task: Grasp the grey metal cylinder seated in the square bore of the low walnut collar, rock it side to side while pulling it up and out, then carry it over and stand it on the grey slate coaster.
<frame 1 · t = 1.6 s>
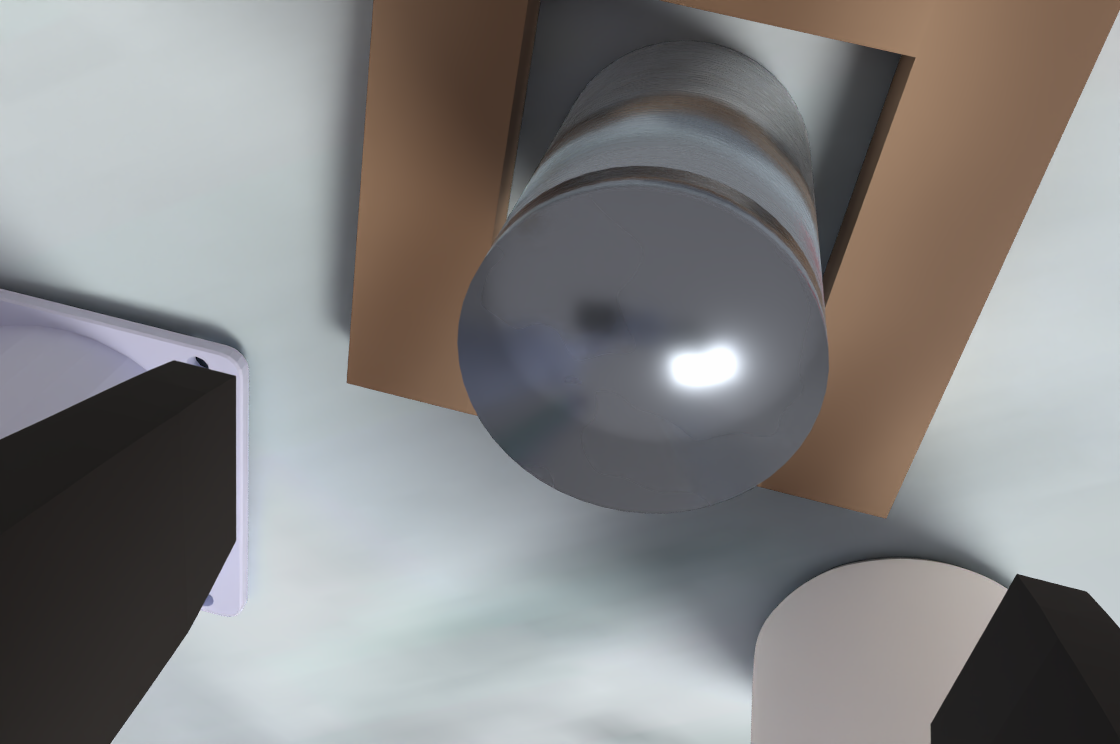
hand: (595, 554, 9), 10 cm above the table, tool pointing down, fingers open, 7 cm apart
collar: (681, 170, 18), on the table
grey metal cylinder: (682, 169, 18), resting in collar
can: (896, 648, 23), on the table
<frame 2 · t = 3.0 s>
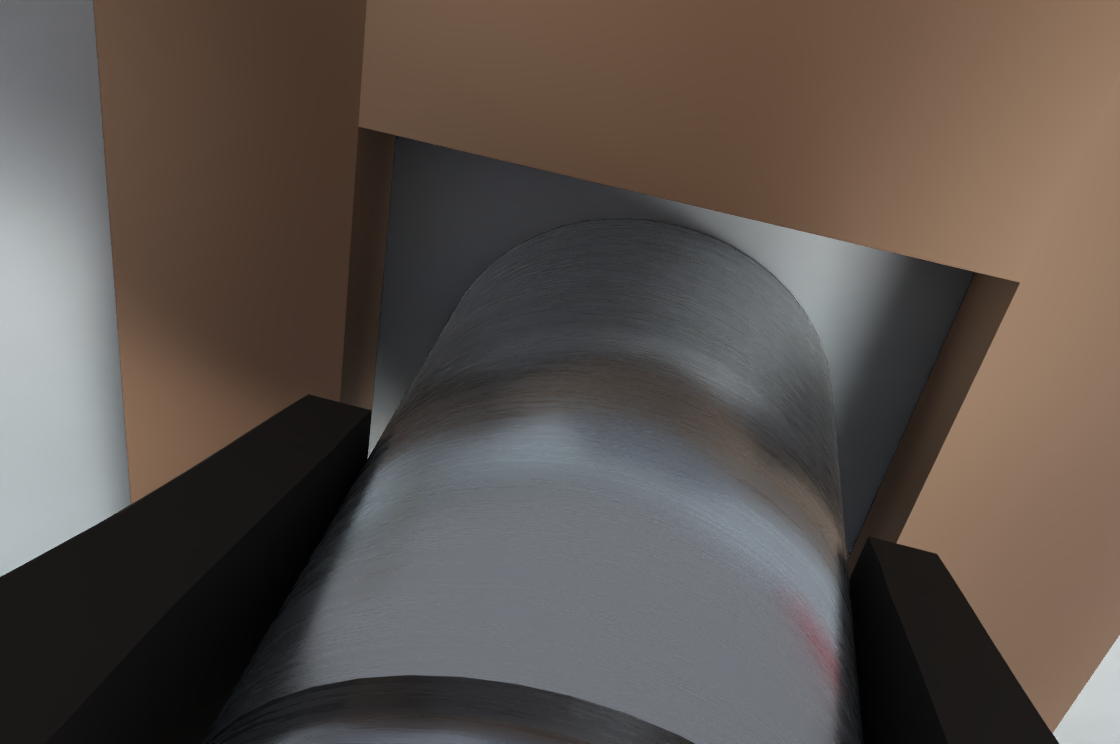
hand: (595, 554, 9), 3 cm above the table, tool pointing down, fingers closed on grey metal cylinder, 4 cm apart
collar: (628, 404, 12), on the table
grey metal cylinder: (629, 402, 12), resting in collar, touching gripper
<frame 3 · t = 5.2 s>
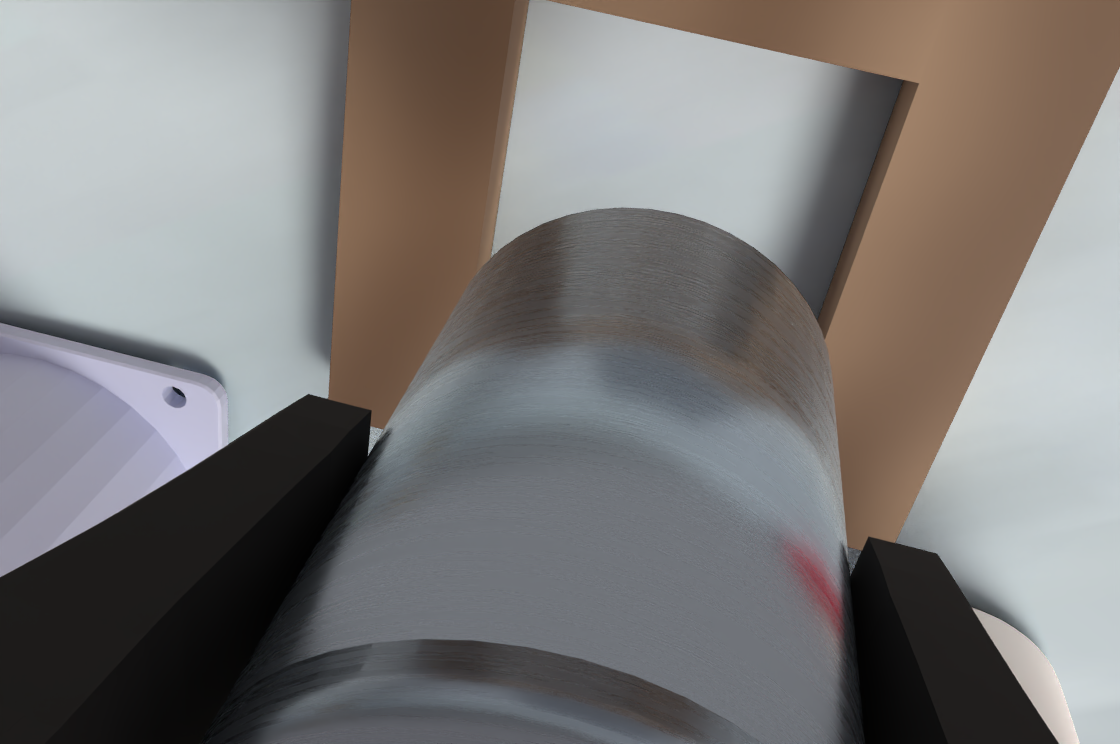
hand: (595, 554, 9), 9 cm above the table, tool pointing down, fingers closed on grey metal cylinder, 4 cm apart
collar: (674, 197, 17), on the table
grey metal cylinder: (632, 389, 12), point 7 cm above the table, touching gripper
can: (898, 685, 22), on the table
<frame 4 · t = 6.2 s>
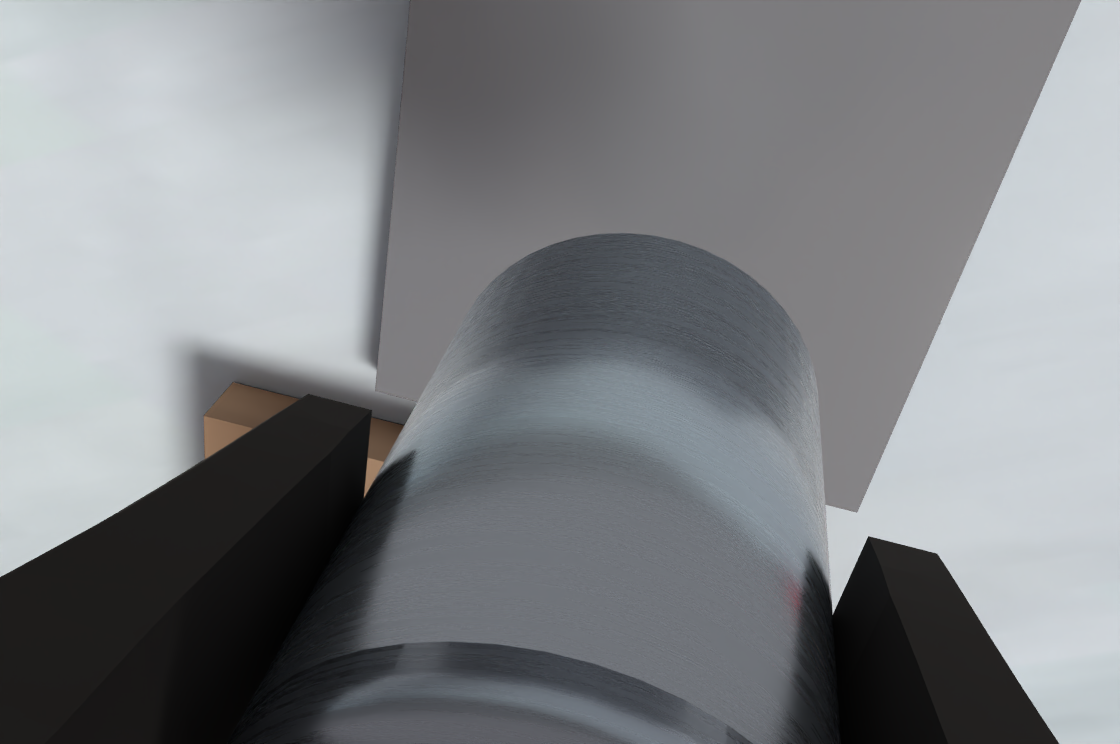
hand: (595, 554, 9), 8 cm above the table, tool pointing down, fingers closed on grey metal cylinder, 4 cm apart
collar: (469, 645, 22), on the table
grey metal cylinder: (628, 403, 12), point 5 cm above the table, touching gripper
coaster: (672, 214, 16), on the table
when the fingers open (4 cm above the table, at t = 7.3 s): grey metal cylinder stays where it is, resting on coaster.
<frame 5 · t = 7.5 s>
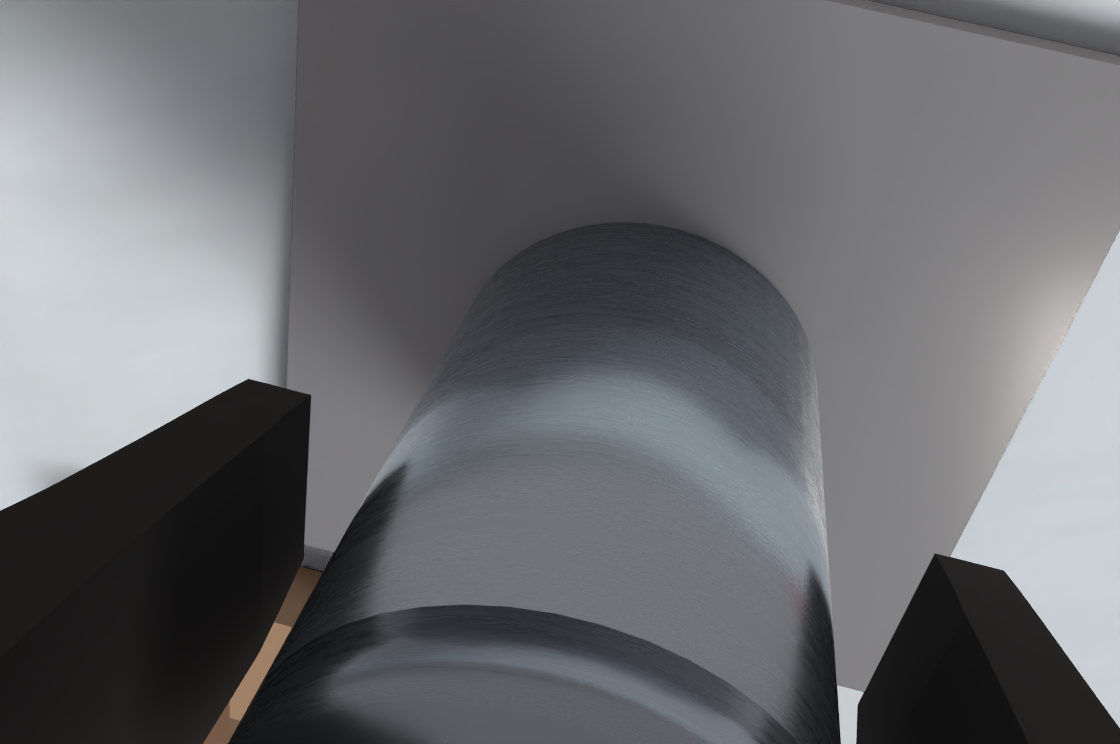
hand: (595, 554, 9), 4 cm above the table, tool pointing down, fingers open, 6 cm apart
grey metal cylinder: (631, 390, 13), resting on coaster
coaster: (644, 340, 13), on the table
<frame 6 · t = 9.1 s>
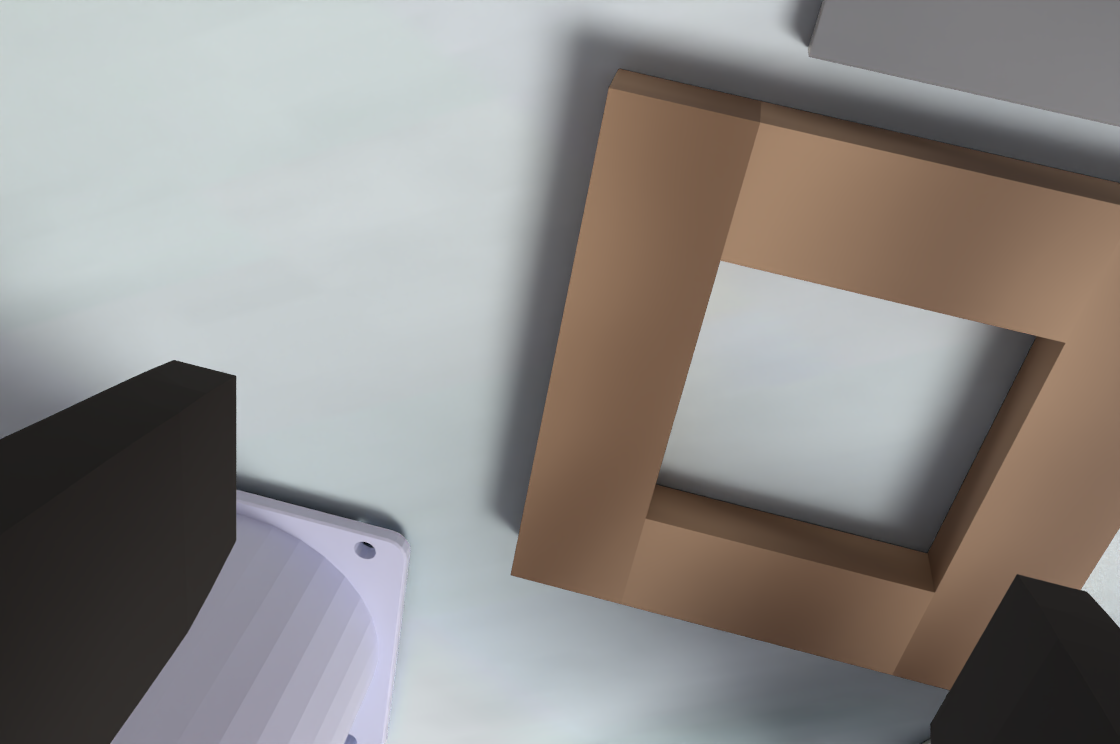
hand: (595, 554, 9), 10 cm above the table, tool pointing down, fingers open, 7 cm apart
collar: (832, 404, 20), on the table
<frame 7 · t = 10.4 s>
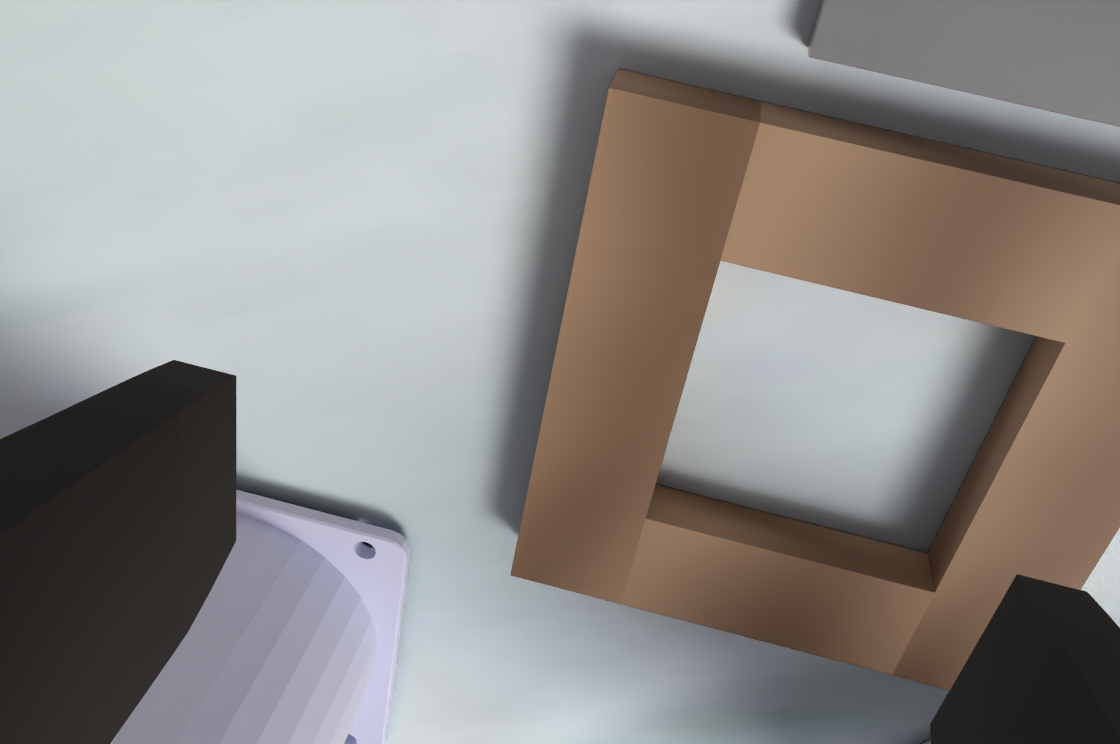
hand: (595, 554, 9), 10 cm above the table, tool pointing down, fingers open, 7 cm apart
collar: (832, 404, 20), on the table
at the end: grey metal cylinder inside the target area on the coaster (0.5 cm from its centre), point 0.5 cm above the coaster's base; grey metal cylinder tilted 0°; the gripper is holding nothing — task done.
